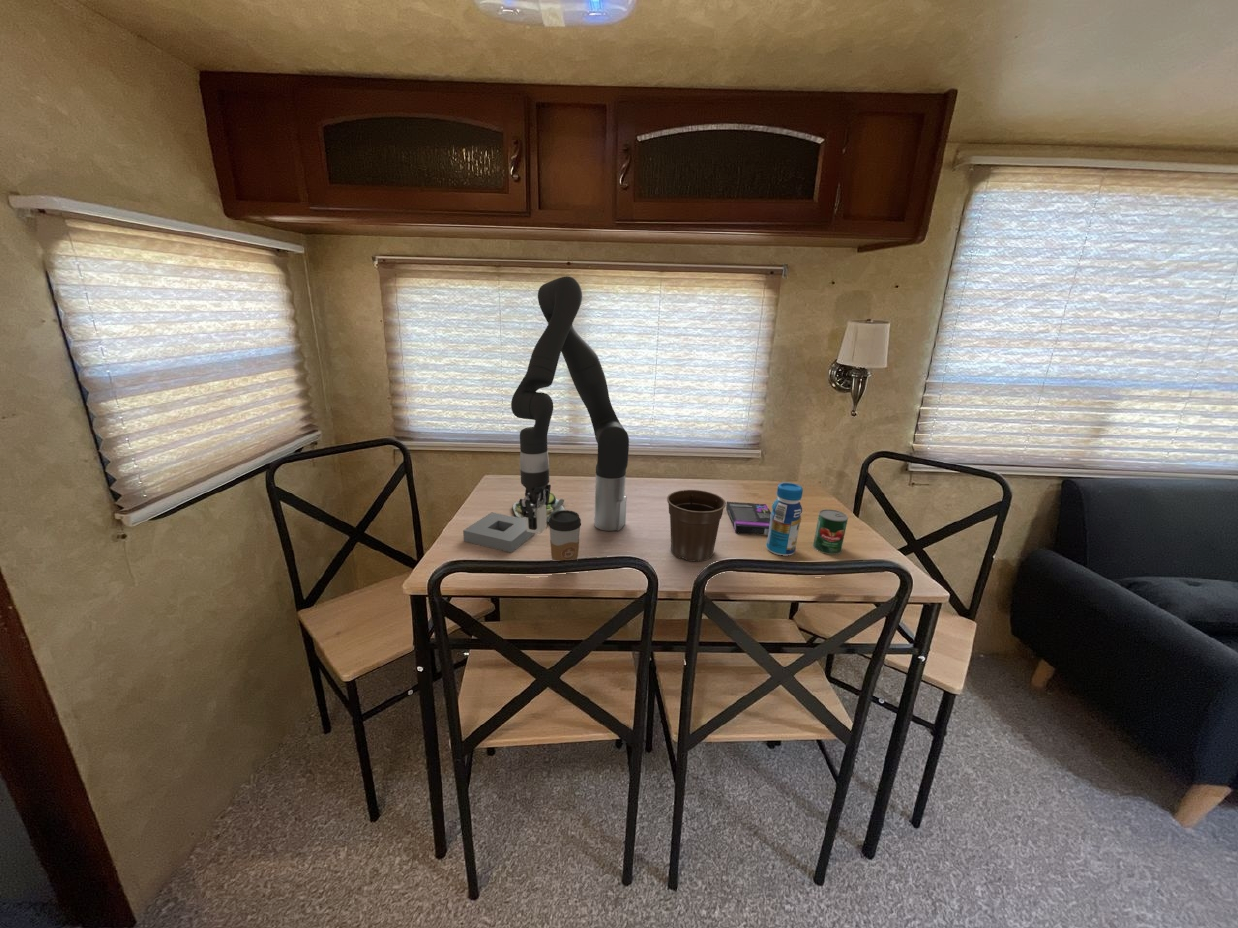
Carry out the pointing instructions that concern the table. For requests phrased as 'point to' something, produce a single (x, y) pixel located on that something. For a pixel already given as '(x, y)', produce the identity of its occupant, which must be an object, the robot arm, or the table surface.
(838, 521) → the canned tomato
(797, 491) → the beverage bottle
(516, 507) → the avocado toast plate
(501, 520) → the outlet box
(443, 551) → the table surface
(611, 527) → the robot arm
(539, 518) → the block
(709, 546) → the plant pot
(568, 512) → the coffee cup
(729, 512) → the box
